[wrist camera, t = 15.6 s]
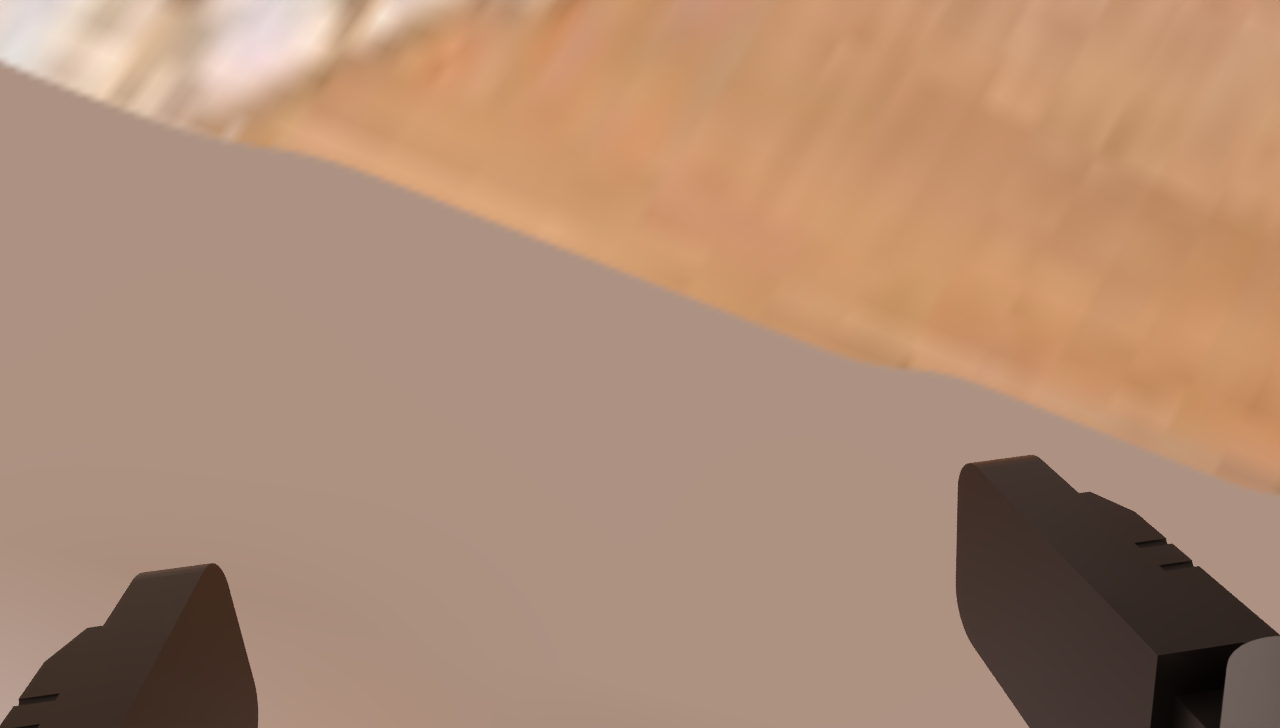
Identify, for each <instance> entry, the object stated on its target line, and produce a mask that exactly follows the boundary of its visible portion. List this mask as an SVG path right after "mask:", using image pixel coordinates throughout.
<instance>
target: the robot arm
mask: <svg viewBox="0 0 1280 728" xmlns="http://www.w3.org/2000/svg"><path fill="white" fill-rule="evenodd" d="M957 509H958V510H957V511H958V512H957V556H956V595H957V602H958V608H959V612H960V617H961V620H962V623H963V626H964V629H965V631H966V634H967V636H968V638H969V640H970V642H971V643H972V645H973V646H974V648H975V650H976V651H977V652H978V654H979V655H980V657H981V658H982V660H983V661H984V662H985V664H986V665H987V667H988V668H989V670H990V671H991V673H992V674H993V675H994V677H995V678H996V680H997V681H998V683H999V684H1000V686H1001V687H1002V688H1003V690H1004V691H1005V693H1006V694H1007V696H1008V697H1009V699H1010V700H1011V701H1012V703H1013V704H1014V706H1015V707H1016V709H1017V710H1018V711H1019V713H1020V714H1021V716H1022V717H1023V719H1024V720H1025V722H1026V723H1027V725H1028V726H1029V727H1030V728H1280V635H1279V634H1278V633H1277V632H1276V631H1275V630H1273V629H1272V628H1271V627H1270V626H1269V625H1268V624H1266V623H1265V622H1264V621H1263V620H1262V619H1260V618H1259V617H1258V616H1257V615H1256V614H1255V613H1253V612H1252V611H1251V610H1250V609H1249V608H1247V607H1246V606H1245V605H1244V604H1243V603H1242V602H1240V601H1239V600H1238V599H1237V598H1236V597H1235V596H1233V595H1232V594H1231V593H1230V592H1229V591H1227V590H1226V589H1225V588H1224V587H1223V586H1222V585H1220V584H1219V583H1218V582H1217V581H1216V580H1215V579H1213V578H1212V577H1211V576H1210V575H1209V574H1207V573H1206V572H1205V571H1204V570H1203V569H1202V568H1200V567H1199V566H1197V567H1194V566H1193V564H1192V560H1191V559H1190V558H1189V557H1187V556H1186V555H1185V554H1184V553H1183V552H1182V551H1180V550H1179V549H1178V548H1177V547H1175V545H1173V544H1167V542H1166V538H1165V537H1164V536H1163V535H1162V534H1160V533H1159V532H1158V531H1157V530H1156V529H1154V528H1153V527H1152V526H1151V525H1150V524H1148V523H1147V522H1146V521H1145V520H1144V519H1143V518H1142V517H1140V516H1139V515H1138V514H1137V513H1136V512H1134V511H1132V510H1130V509H1127V508H1125V507H1123V506H1120V505H1118V504H1116V503H1114V502H1112V501H1110V500H1107V499H1105V498H1103V497H1101V496H1098V495H1096V494H1094V493H1091V492H1085V493H1078V492H1077V491H1076V490H1075V489H1074V488H1072V487H1071V486H1070V485H1069V484H1068V483H1067V482H1066V481H1065V480H1064V479H1062V478H1061V477H1060V476H1059V475H1058V474H1057V473H1056V472H1055V471H1054V470H1052V469H1051V468H1050V467H1049V466H1048V465H1047V464H1046V463H1045V462H1043V461H1042V460H1041V459H1040V458H1039V457H1037V456H1034V455H1027V456H1020V457H1012V458H1005V459H997V460H990V461H983V462H975V463H969V464H966V465H965V466H964V467H963V468H962V470H961V473H960V476H959V481H958V508H957ZM0 728H258V702H257V693H256V688H255V683H254V679H253V676H252V672H251V668H250V665H249V661H248V657H247V653H246V649H245V646H244V642H243V638H242V635H241V631H240V627H239V623H238V620H237V616H236V612H235V608H234V605H233V601H232V597H231V594H230V590H229V586H228V583H227V580H226V577H225V575H224V573H223V571H222V570H221V569H220V567H219V566H218V565H216V564H214V563H211V564H203V565H196V566H189V567H181V568H174V569H166V570H159V571H151V572H144V573H140V574H139V575H137V576H136V577H135V578H134V579H133V580H132V582H131V584H130V585H129V587H128V588H127V590H126V591H125V593H124V594H123V596H122V598H121V599H120V601H119V602H118V604H117V605H116V607H115V608H114V610H113V612H112V613H111V615H110V616H109V618H108V619H107V621H106V623H105V624H104V625H103V626H98V627H91V628H87V629H86V630H84V631H83V632H82V633H80V634H79V635H78V636H77V637H75V638H74V639H73V640H72V641H70V642H69V643H68V644H67V645H65V646H64V647H63V648H62V649H61V650H59V651H58V652H57V653H55V654H54V655H53V656H52V657H50V658H49V659H48V660H47V661H45V662H44V663H43V665H42V666H41V668H40V669H39V671H38V672H37V674H36V675H35V676H34V678H33V679H32V681H31V682H30V684H29V685H28V687H27V688H26V689H25V691H24V692H23V694H22V695H21V696H20V698H19V706H14V707H13V708H12V710H11V711H10V712H9V714H8V715H7V717H6V718H5V719H4V721H3V722H2V724H1V725H0Z"/></svg>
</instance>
